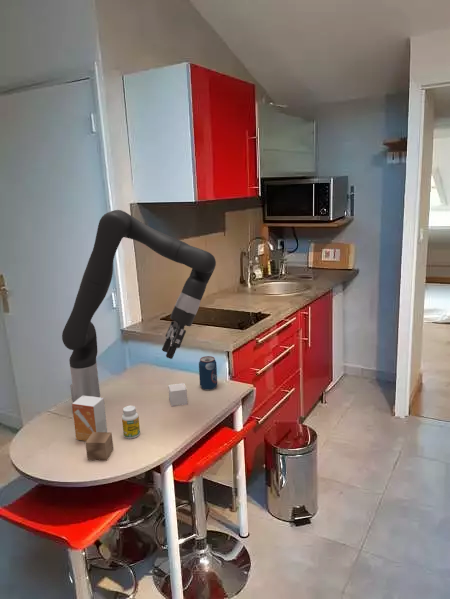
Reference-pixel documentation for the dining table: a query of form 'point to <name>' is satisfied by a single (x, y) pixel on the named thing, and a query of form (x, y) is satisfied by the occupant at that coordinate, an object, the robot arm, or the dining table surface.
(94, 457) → the walnut cube
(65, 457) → the dining table surface
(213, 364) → the soda can
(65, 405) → the dining table surface
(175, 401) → the white cube
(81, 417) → the small box
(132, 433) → the supplement bottle
